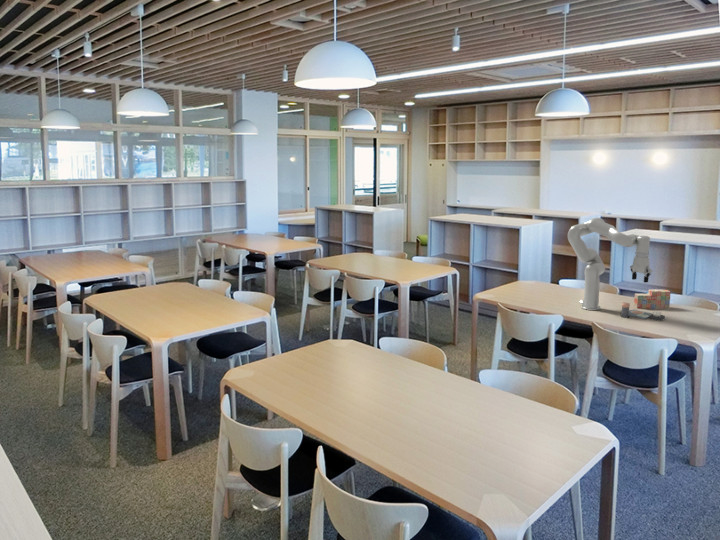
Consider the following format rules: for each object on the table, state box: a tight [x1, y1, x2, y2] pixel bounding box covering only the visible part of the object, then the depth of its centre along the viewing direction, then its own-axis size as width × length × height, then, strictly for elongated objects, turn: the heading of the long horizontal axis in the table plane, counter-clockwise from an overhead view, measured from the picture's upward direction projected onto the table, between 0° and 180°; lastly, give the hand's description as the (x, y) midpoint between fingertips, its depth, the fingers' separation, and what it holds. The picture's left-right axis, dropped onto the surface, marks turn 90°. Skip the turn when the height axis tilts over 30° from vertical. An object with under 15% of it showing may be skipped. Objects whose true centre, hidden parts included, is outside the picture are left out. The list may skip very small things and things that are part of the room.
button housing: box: [648, 313, 666, 321], centre depth 380 cm, size 7×7×2 cm
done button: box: [652, 311, 662, 317], centre depth 380 cm, size 5×5×2 cm
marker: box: [620, 302, 631, 319], centre depth 386 cm, size 5×5×9 cm
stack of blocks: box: [633, 288, 671, 310], centre depth 408 cm, size 21×6×12 cm, turn 84°
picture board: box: [620, 309, 653, 320], centre depth 391 cm, size 17×14×1 cm
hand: (639, 280), depth 385 cm, fingers open, 9 cm apart
